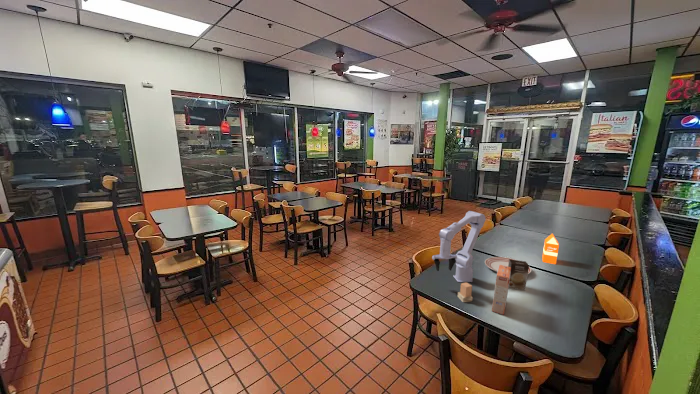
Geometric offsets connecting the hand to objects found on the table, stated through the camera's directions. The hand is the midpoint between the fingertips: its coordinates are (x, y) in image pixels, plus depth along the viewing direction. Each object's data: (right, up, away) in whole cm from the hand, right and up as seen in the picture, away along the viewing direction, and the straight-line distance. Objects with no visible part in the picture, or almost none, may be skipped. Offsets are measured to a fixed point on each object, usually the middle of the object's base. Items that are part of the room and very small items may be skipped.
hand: (443, 269), depth 160 cm
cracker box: (+23, -15, -18) cm, 33 cm away
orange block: (+8, -10, -12) cm, 18 cm away
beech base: (+8, -13, -11) cm, 19 cm away
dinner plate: (+51, -6, +22) cm, 56 cm away
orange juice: (+89, -3, +34) cm, 95 cm away
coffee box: (+43, -11, 0) cm, 45 cm away
